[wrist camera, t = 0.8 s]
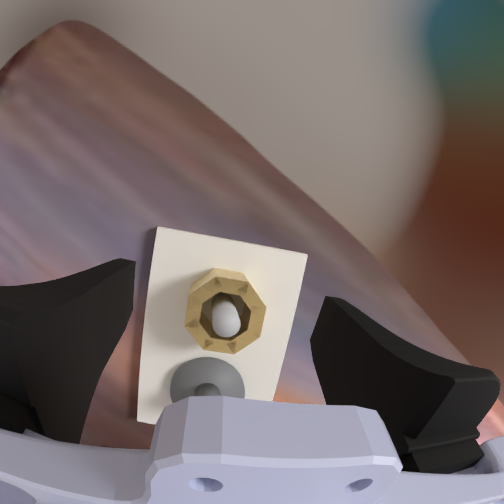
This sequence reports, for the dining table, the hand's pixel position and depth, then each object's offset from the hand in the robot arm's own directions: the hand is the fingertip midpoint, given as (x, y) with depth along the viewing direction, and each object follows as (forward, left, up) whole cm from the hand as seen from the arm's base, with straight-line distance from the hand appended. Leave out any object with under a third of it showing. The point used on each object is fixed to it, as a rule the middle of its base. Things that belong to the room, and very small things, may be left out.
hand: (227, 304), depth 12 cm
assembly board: (-8, -1, -14) cm, 16 cm away
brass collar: (-4, -1, -13) cm, 14 cm away
